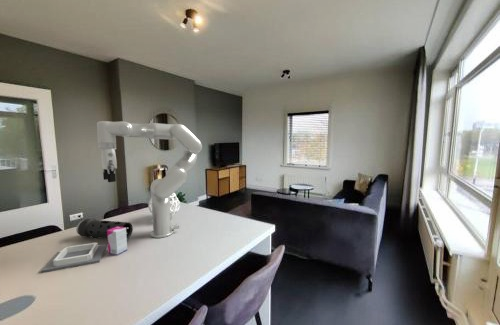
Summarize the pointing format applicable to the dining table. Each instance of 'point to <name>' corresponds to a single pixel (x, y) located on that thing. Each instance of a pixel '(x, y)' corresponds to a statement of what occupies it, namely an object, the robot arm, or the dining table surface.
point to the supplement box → (117, 240)
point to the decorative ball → (174, 200)
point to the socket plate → (75, 257)
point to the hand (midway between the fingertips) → (109, 180)
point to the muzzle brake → (100, 228)
